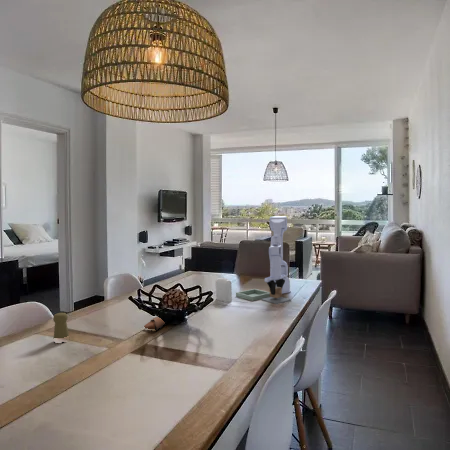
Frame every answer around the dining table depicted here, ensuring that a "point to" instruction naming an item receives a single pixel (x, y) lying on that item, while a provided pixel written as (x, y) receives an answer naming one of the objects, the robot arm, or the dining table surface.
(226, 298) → the white rounded block
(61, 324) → the cork
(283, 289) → the robot arm
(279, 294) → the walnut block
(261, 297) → the bin
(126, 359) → the dining table surface
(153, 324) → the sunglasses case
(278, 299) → the slate mat
